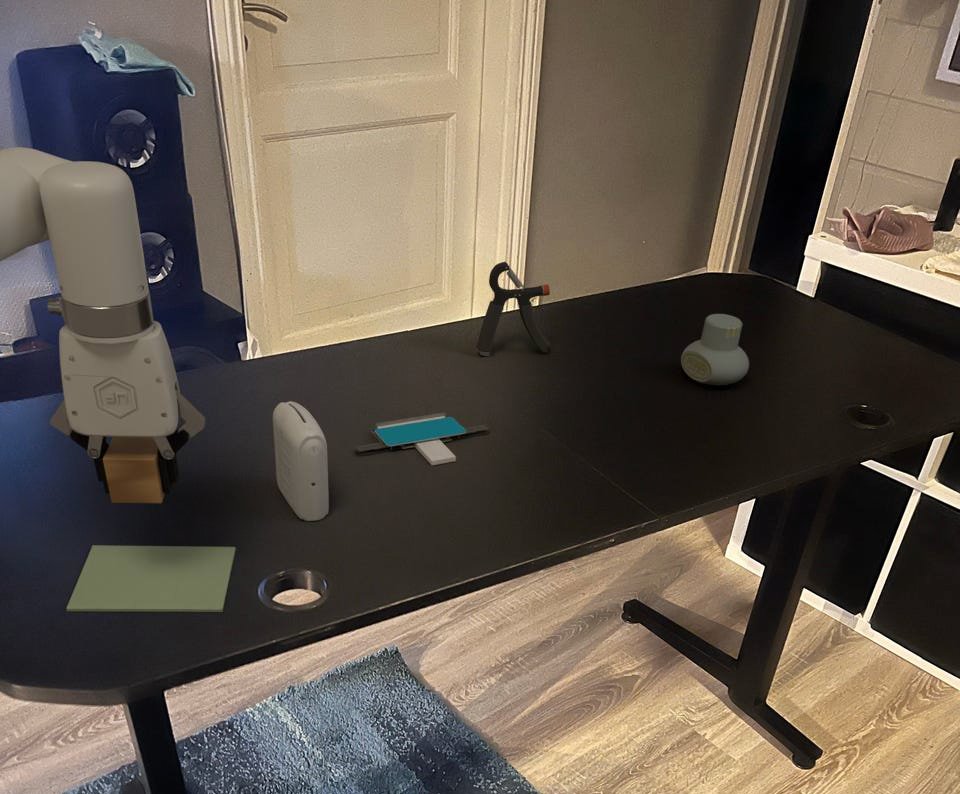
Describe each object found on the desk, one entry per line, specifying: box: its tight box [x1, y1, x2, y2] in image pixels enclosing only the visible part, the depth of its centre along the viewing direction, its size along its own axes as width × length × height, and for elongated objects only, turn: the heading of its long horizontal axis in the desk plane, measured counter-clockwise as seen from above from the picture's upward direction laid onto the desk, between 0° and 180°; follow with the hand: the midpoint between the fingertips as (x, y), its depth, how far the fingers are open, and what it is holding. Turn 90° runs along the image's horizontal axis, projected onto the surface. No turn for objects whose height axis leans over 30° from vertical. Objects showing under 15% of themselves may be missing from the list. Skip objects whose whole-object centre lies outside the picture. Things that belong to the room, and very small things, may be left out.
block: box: [103, 437, 166, 504], centre depth 99 cm, size 5×5×5 cm
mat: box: [65, 544, 237, 613], centre depth 107 cm, size 16×12×1 cm
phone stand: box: [354, 411, 490, 466], centre depth 135 cm, size 20×12×2 cm, turn 117°
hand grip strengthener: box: [476, 261, 552, 353], centre depth 158 cm, size 2×13×15 cm, turn 103°
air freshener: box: [680, 313, 750, 386], centre depth 157 cm, size 11×8×10 cm
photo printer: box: [272, 400, 330, 522], centre depth 118 cm, size 10×4×12 cm, turn 28°
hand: (140, 485), depth 100 cm, fingers closed on block, 5 cm apart
